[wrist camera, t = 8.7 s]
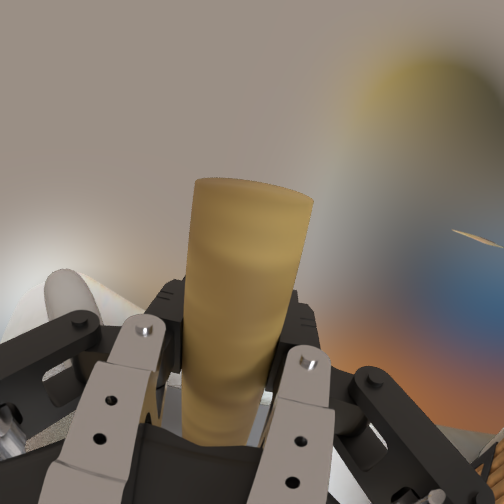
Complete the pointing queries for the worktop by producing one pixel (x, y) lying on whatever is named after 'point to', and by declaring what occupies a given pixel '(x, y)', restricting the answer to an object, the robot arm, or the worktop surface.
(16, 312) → the worktop surface
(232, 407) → the dowel
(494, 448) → the ammunition clip
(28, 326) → the worktop surface
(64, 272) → the donut
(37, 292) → the worktop surface
